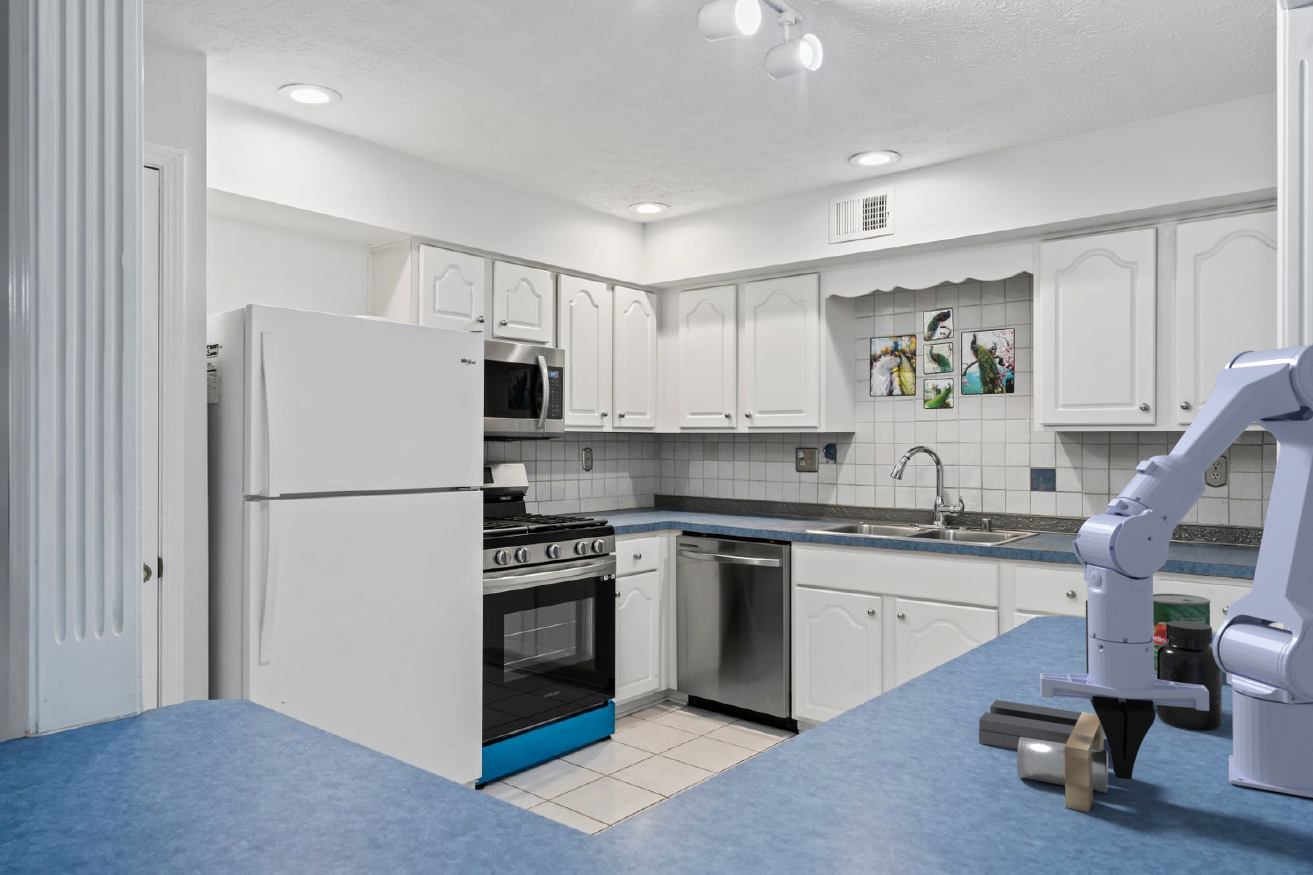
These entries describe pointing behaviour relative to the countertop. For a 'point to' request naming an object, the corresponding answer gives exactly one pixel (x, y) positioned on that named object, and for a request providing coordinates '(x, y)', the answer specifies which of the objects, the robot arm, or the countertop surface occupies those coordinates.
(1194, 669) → the supplement bottle
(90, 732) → the countertop surface
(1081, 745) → the beam
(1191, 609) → the canned tomato
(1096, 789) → the silver metal cylinder
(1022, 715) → the v block
